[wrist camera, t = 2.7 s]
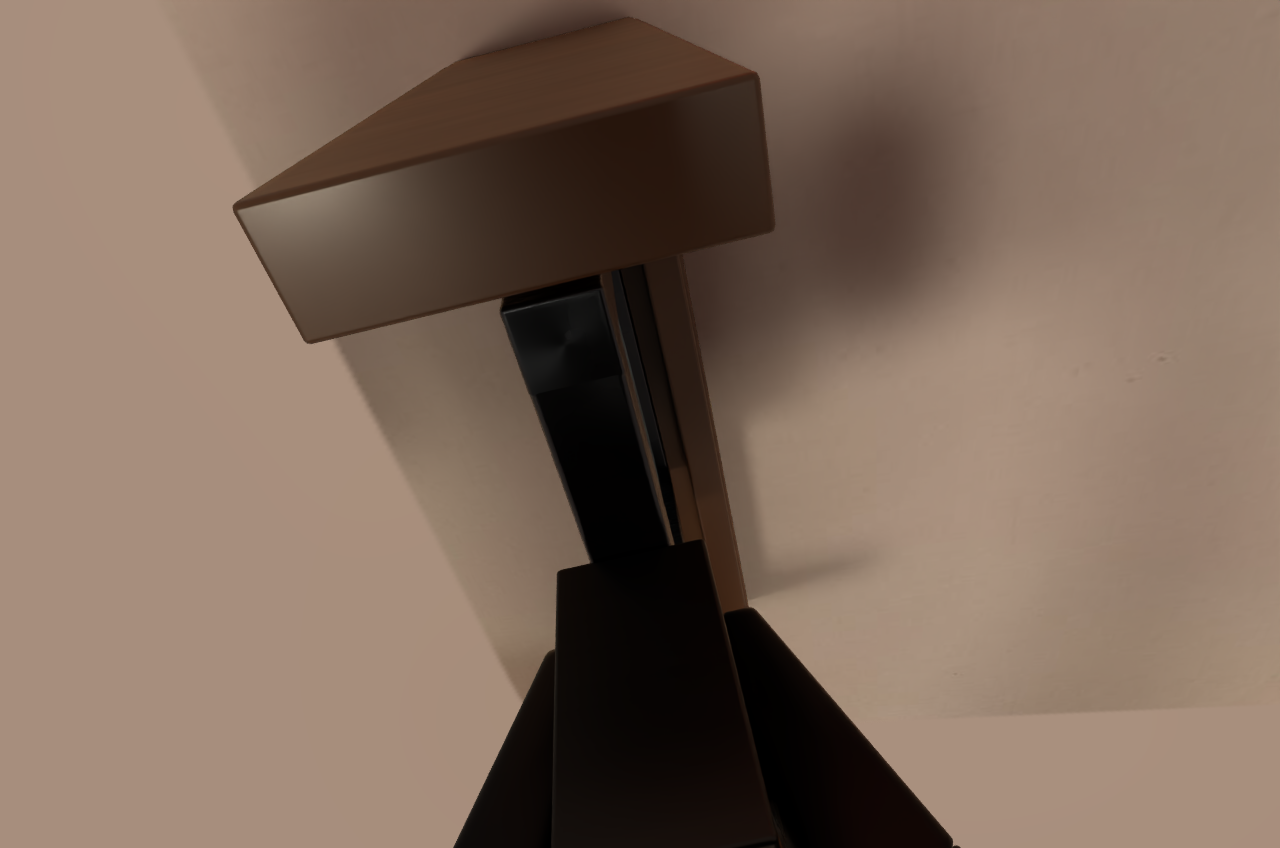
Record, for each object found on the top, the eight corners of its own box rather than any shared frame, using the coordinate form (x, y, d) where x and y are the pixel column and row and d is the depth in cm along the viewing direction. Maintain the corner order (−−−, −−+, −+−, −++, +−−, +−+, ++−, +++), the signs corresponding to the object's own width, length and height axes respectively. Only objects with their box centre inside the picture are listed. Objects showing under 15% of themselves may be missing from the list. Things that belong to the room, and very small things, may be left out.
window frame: (637, 626, 25) (680, 1030, 15) (451, 62, 15) (227, 206, 5) (745, 603, 24) (858, 996, 15) (633, 15, 14) (760, 69, 5)
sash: (622, 484, 19) (689, 1106, 9) (519, 134, 14) (360, 597, 3) (684, 469, 19) (829, 1079, 9) (602, 113, 14) (711, 519, 3)
